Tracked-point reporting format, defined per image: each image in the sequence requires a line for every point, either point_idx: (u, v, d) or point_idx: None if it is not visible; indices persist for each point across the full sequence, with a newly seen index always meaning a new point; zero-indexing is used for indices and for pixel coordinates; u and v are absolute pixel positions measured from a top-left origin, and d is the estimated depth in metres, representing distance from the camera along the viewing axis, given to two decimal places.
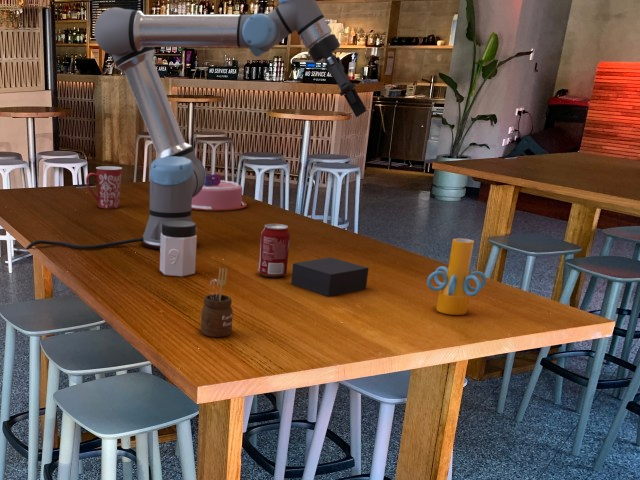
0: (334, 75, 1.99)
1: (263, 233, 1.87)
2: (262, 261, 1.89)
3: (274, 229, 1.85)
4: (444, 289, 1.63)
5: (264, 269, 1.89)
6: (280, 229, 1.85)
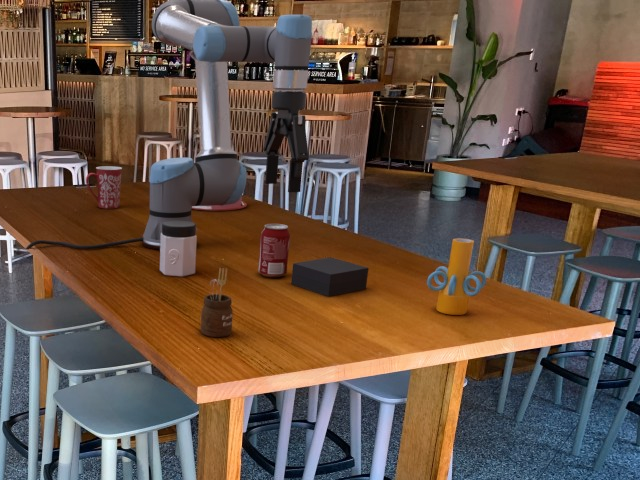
0: (297, 137, 1.73)
1: (263, 233, 1.87)
2: (262, 261, 1.89)
3: (274, 229, 1.85)
4: (444, 289, 1.63)
5: (264, 269, 1.89)
6: (280, 229, 1.85)
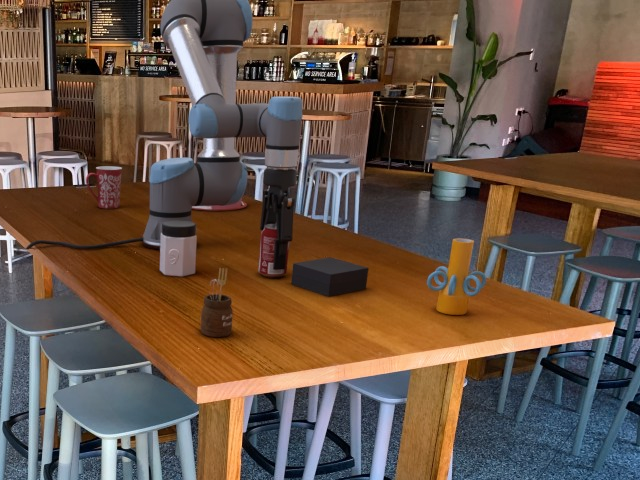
0: (284, 220, 1.81)
1: (263, 233, 1.87)
2: (262, 261, 1.89)
3: (274, 229, 1.85)
4: (444, 289, 1.63)
5: (264, 269, 1.89)
6: None
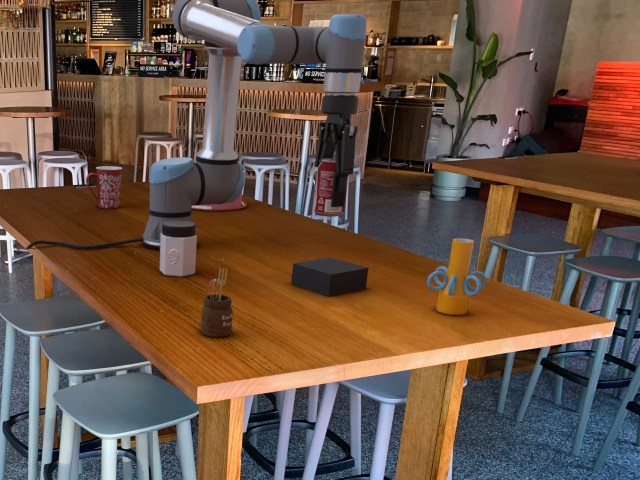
0: (345, 151, 1.66)
1: (320, 167, 1.73)
2: (319, 198, 1.75)
3: (333, 162, 1.71)
4: (444, 289, 1.63)
5: (321, 207, 1.75)
6: None
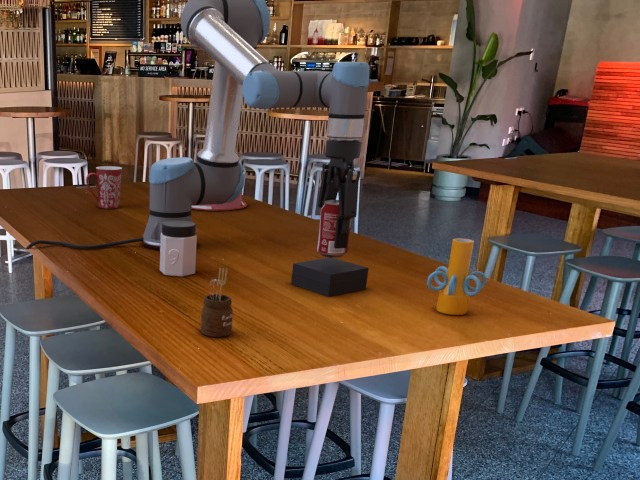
0: (348, 195, 1.69)
1: (323, 209, 1.75)
2: (322, 239, 1.77)
3: (336, 205, 1.74)
4: (444, 289, 1.63)
5: (324, 248, 1.77)
6: None
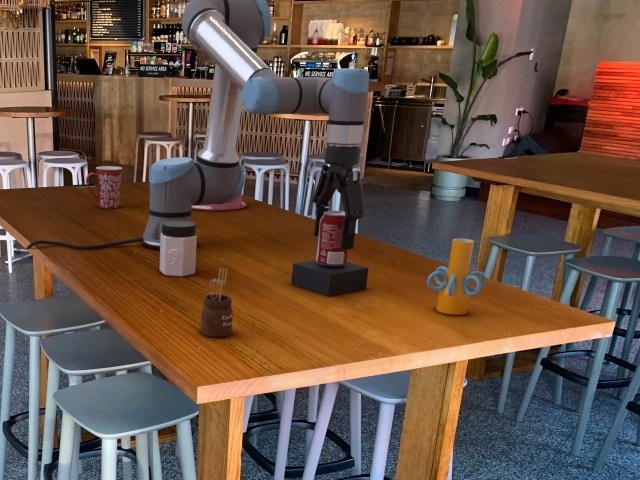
0: (352, 195, 1.67)
1: (322, 220, 1.76)
2: (321, 250, 1.78)
3: (335, 216, 1.74)
4: (444, 289, 1.63)
5: (323, 258, 1.78)
6: (341, 216, 1.74)
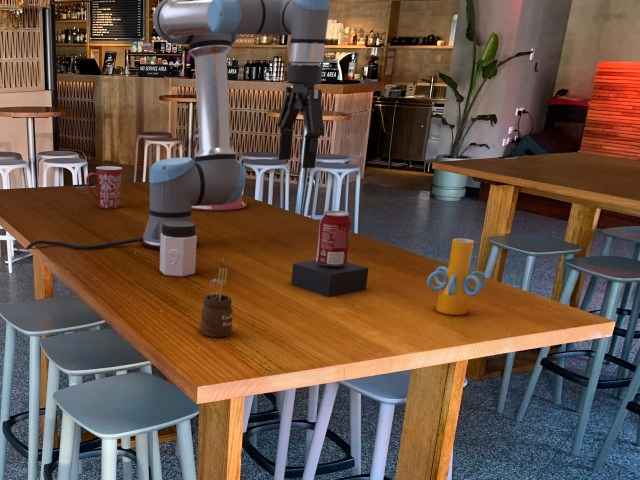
0: (313, 112, 1.70)
1: (322, 220, 1.76)
2: (321, 250, 1.78)
3: (335, 216, 1.74)
4: (444, 289, 1.63)
5: (323, 259, 1.78)
6: (341, 216, 1.74)
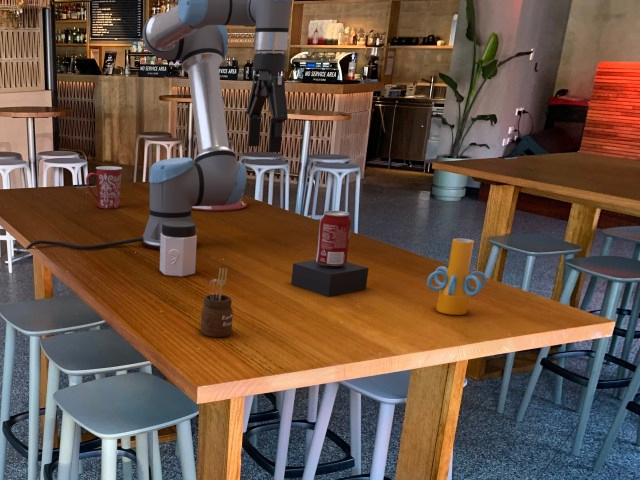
0: (277, 98, 1.77)
1: (323, 220, 1.76)
2: (321, 250, 1.78)
3: (335, 216, 1.74)
4: (444, 289, 1.63)
5: (323, 259, 1.78)
6: (341, 216, 1.74)
